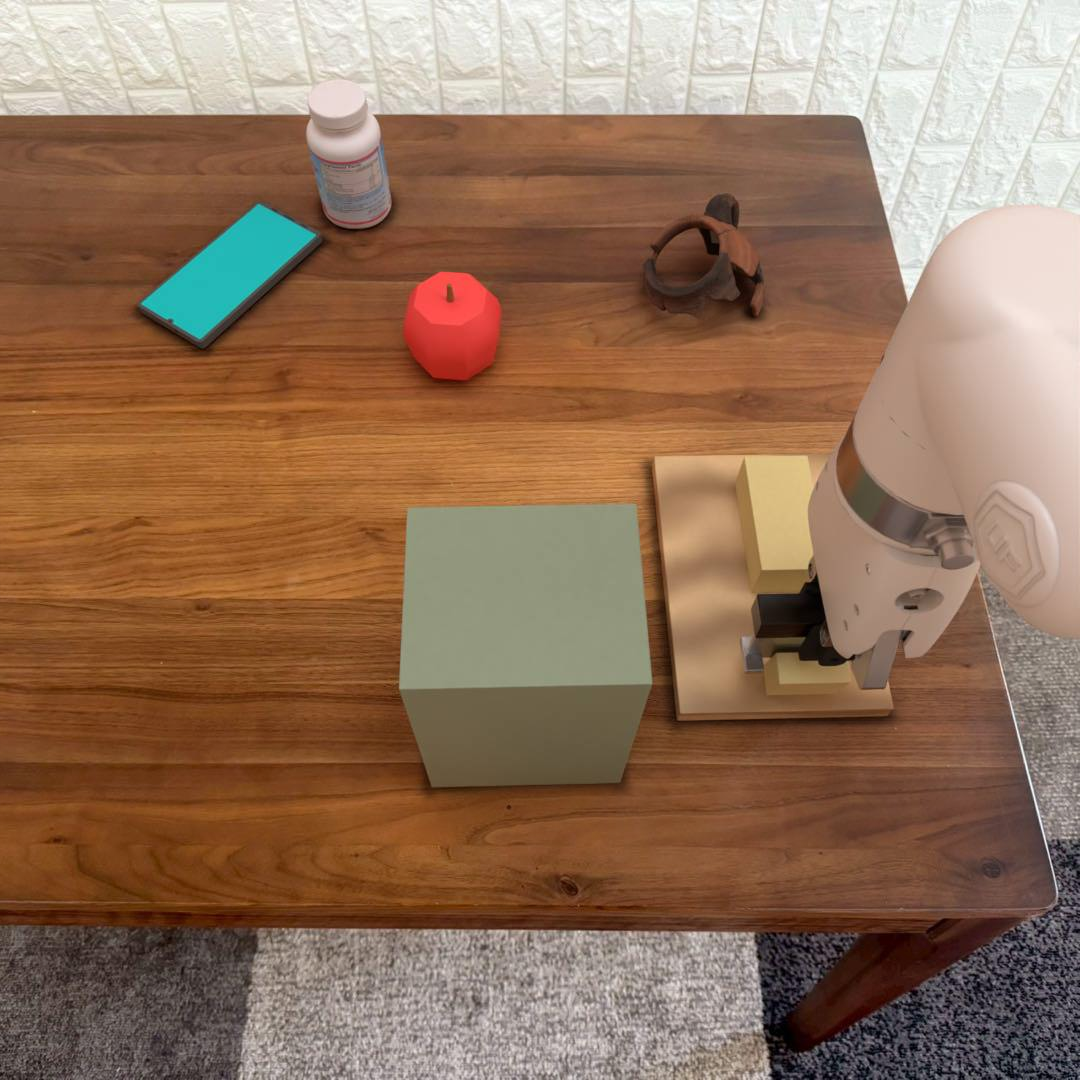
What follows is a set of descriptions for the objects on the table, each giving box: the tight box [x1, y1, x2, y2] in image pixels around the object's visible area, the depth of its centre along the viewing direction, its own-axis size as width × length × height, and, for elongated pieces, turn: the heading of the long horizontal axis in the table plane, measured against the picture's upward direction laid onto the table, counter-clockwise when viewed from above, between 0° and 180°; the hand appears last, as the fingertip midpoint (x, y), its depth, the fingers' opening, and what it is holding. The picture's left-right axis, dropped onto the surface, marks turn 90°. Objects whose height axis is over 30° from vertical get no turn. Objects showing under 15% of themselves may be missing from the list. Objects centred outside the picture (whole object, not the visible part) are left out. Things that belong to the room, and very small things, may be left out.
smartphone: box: [136, 200, 324, 349], centre depth 81 cm, size 7×1×15 cm
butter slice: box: [764, 652, 851, 695], centre depth 61 cm, size 2×4×4 cm, turn 92°
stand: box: [398, 503, 653, 788], centre depth 56 cm, size 10×12×18 cm
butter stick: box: [735, 456, 814, 593], centre depth 67 cm, size 9×4×4 cm, turn 2°
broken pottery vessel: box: [642, 192, 764, 321], centre depth 80 cm, size 12×10×8 cm
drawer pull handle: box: [739, 593, 826, 674], centre depth 59 cm, size 2×9×7 cm, turn 92°
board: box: [651, 452, 895, 722], centre depth 68 cm, size 20×14×2 cm
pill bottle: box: [305, 78, 392, 230], centre depth 81 cm, size 6×6×11 cm
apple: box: [402, 271, 503, 381], centre depth 74 cm, size 8×8×8 cm
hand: (820, 634), depth 59 cm, fingers closed on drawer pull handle, 2 cm apart
